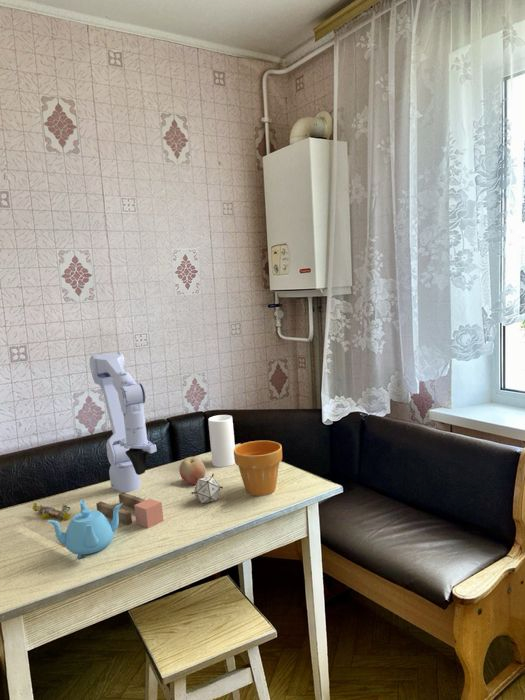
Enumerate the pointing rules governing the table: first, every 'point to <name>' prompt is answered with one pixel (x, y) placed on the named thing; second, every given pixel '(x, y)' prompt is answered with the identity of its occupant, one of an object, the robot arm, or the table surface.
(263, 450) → the flower pot
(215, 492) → the game die
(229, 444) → the white tall cylinder
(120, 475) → the robot arm
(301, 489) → the table surface
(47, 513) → the toy
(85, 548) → the teapot
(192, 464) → the fruit
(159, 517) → the block
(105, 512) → the chute
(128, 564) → the table surface
